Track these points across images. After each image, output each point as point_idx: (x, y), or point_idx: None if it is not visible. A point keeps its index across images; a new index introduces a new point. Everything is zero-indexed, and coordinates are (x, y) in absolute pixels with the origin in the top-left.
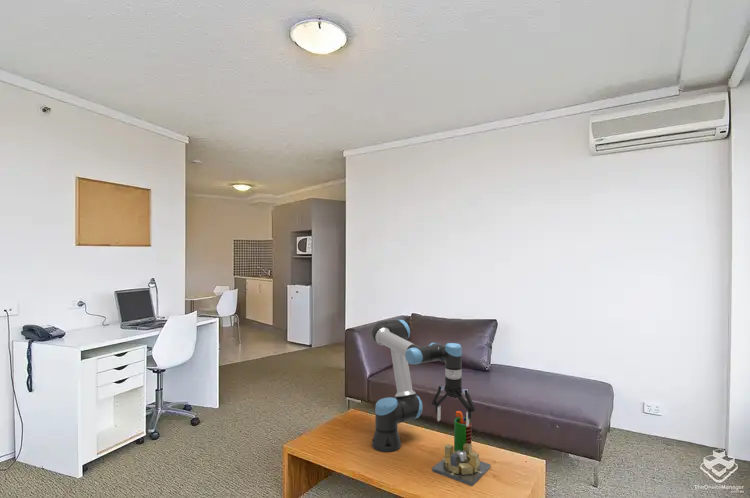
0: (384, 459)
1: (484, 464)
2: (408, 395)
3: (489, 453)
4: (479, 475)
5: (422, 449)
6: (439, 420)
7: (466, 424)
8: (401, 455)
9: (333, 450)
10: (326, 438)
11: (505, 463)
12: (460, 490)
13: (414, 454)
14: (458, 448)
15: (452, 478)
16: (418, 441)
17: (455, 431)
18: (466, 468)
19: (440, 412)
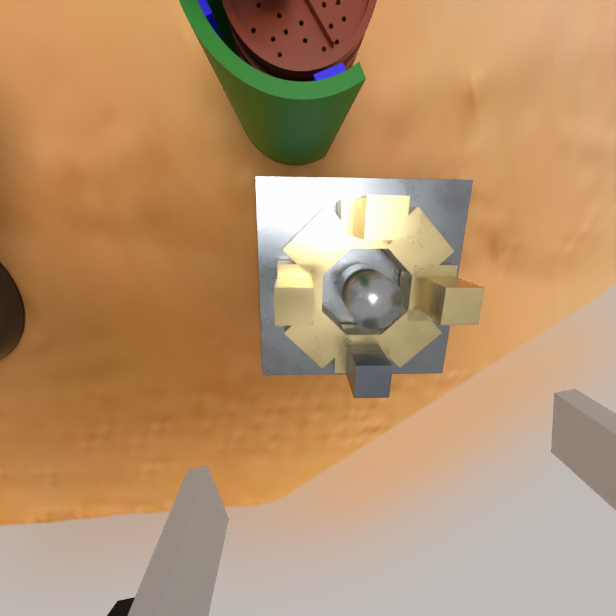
0: (57, 405)
1: (447, 201)
2: None
3: (421, 14)
4: None
5: (106, 222)
6: (222, 506)
7: (576, 470)
8: (79, 337)
9: None
10: None
11: (523, 86)
12: (408, 411)
13: (115, 293)
14: (286, 156)
15: None
16: (18, 145)
17: (245, 110)
18: (416, 351)
19: (177, 575)
